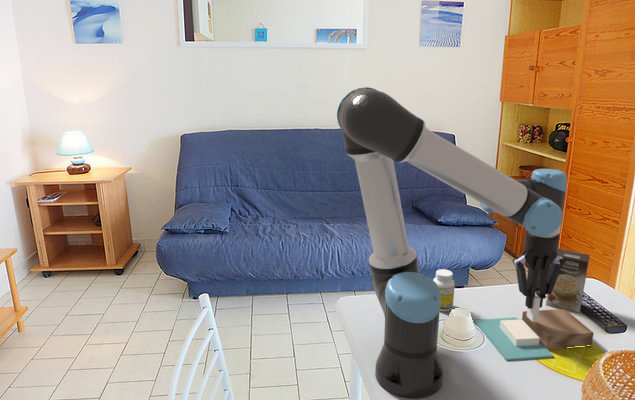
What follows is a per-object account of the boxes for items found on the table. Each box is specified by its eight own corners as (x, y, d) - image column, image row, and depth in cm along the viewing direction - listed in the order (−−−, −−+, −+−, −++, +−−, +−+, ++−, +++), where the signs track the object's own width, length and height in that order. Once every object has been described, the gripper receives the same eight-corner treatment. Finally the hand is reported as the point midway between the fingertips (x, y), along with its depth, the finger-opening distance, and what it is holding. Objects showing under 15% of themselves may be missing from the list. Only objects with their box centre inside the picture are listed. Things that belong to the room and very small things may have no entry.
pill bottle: (435, 299, 143) (437, 266, 140) (455, 305, 140) (458, 270, 137) (428, 308, 138) (430, 274, 135) (448, 314, 135) (451, 279, 132)
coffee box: (544, 305, 140) (551, 254, 135) (547, 296, 145) (554, 247, 140) (580, 313, 135) (588, 261, 130) (581, 304, 140) (590, 253, 135)
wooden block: (546, 350, 118) (548, 335, 117) (521, 324, 129) (522, 311, 128) (591, 346, 119) (593, 332, 118) (562, 321, 131) (564, 308, 129)
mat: (506, 360, 114) (506, 358, 114) (474, 321, 131) (474, 319, 131) (553, 357, 115) (553, 355, 115) (515, 318, 132) (515, 317, 132)
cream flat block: (515, 346, 119) (516, 339, 118) (499, 327, 127) (500, 320, 127) (538, 345, 119) (539, 338, 119) (521, 325, 128) (521, 319, 127)
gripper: (525, 239, 111) (515, 328, 118) (577, 236, 112) (564, 324, 119) (509, 228, 118) (500, 312, 125) (558, 226, 120) (547, 309, 126)
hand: (532, 318), depth 122 cm, fingers closed
